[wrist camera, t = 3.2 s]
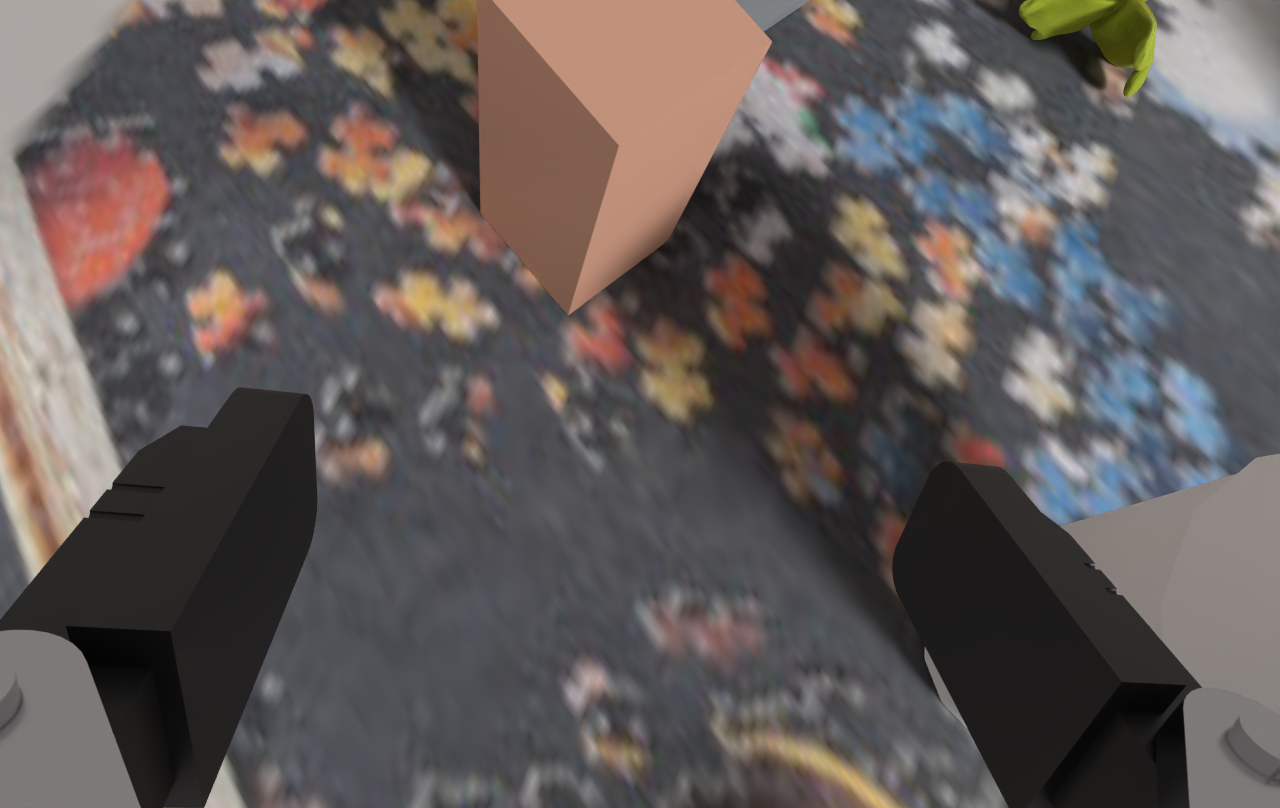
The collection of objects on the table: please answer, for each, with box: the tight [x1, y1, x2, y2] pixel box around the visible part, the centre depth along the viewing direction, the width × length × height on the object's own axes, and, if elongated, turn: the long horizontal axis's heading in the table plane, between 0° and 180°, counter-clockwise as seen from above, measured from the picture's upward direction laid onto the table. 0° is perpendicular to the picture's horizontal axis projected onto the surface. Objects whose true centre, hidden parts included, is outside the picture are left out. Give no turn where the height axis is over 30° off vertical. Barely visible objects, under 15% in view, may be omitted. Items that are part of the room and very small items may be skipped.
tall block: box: [477, 0, 772, 315], centre depth 21 cm, size 4×4×10 cm
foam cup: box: [924, 454, 1280, 729], centre depth 19 cm, size 10×9×13 cm
